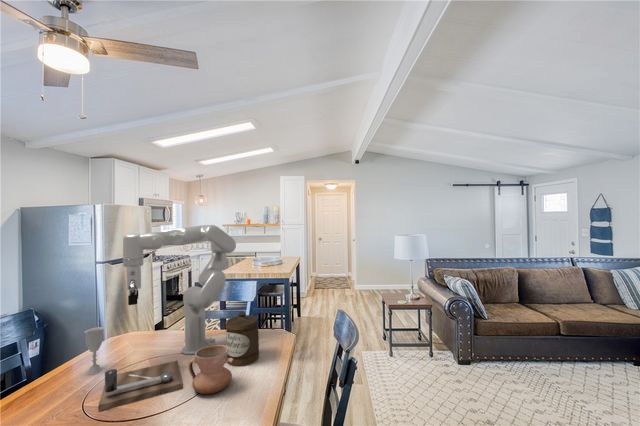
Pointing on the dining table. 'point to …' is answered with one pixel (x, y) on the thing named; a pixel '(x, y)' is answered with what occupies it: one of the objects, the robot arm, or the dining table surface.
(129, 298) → the robot arm
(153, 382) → the lever
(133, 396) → the lever board
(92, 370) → the chalice
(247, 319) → the wooden container
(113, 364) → the dining table surface
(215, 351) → the ceramic jug
